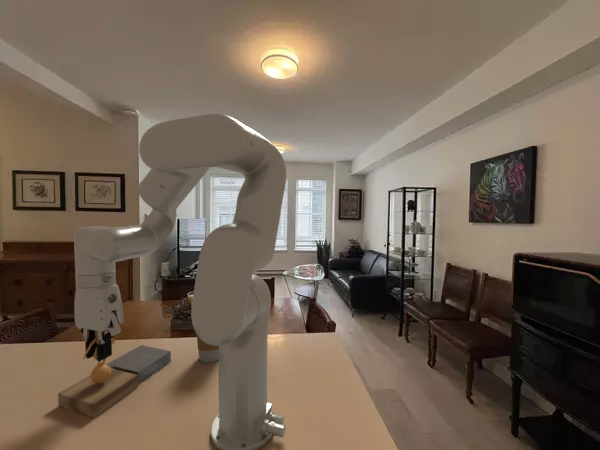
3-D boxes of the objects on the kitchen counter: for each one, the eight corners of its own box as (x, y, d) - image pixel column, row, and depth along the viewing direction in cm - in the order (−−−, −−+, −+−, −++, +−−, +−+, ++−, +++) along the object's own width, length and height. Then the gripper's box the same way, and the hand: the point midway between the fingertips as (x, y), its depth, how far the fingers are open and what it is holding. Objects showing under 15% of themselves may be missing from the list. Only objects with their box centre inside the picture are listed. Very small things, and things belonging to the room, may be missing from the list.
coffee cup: (219, 365, 80) (219, 313, 79) (190, 364, 80) (190, 313, 79) (227, 350, 88) (227, 303, 87) (201, 350, 89) (201, 303, 88)
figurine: (110, 374, 71) (98, 328, 71) (130, 369, 70) (118, 322, 71) (79, 394, 62) (66, 341, 63) (102, 388, 62) (88, 334, 62)
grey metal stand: (170, 361, 82) (170, 351, 82) (138, 383, 72) (138, 372, 71) (141, 354, 85) (141, 345, 85) (106, 375, 75) (106, 364, 75)
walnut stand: (138, 386, 70) (138, 375, 70) (94, 417, 60) (93, 404, 60) (105, 378, 74) (105, 366, 73) (58, 406, 63) (58, 393, 63)
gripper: (137, 279, 66) (139, 354, 67) (87, 273, 71) (90, 344, 72) (106, 287, 59) (109, 372, 60) (53, 280, 64) (57, 358, 65)
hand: (99, 356), depth 66 cm, fingers closed
